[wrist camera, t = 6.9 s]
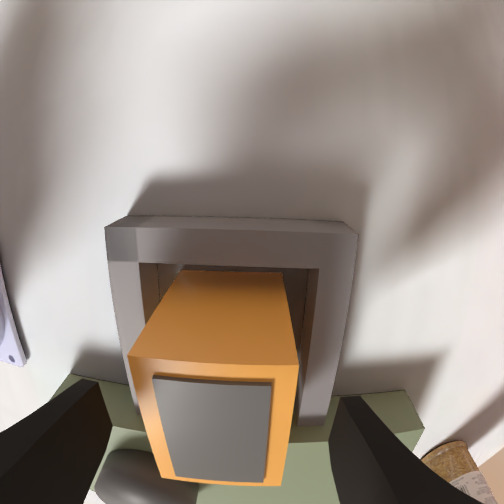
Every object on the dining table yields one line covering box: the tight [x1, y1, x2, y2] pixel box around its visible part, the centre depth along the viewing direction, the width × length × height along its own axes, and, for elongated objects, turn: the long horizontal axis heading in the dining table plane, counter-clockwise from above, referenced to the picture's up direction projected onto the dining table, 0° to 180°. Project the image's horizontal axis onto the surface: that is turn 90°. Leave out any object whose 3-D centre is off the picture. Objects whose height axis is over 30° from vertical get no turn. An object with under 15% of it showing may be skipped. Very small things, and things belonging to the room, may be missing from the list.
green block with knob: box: [50, 216, 425, 504], centre depth 12 cm, size 18×17×5 cm
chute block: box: [127, 270, 299, 486], centre depth 10 cm, size 4×5×6 cm
